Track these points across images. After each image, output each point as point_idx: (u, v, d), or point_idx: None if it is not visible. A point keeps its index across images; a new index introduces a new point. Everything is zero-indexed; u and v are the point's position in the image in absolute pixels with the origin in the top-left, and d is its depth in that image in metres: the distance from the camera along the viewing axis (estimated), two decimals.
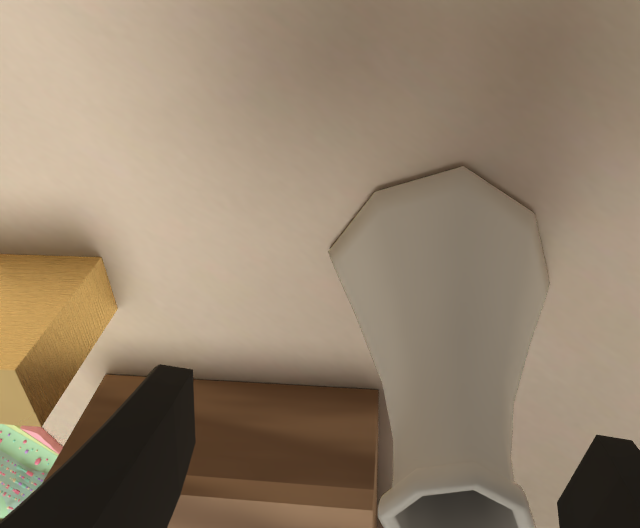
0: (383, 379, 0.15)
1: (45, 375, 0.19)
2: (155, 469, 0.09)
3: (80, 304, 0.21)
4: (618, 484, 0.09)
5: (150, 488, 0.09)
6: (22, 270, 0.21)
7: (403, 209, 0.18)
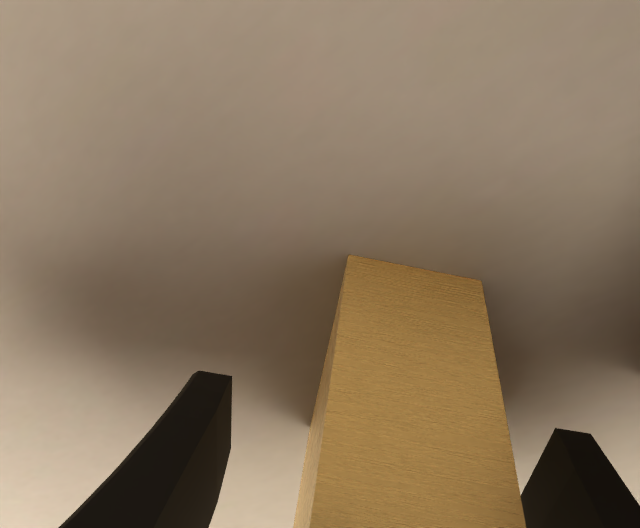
0: None
1: (420, 513, 0.07)
2: (199, 476, 0.09)
3: (375, 337, 0.09)
4: (573, 477, 0.09)
5: (194, 495, 0.09)
6: (320, 392, 0.11)
7: None
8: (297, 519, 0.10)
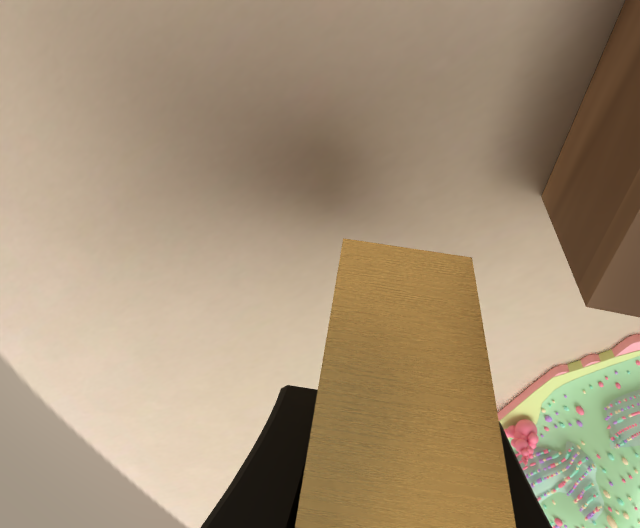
0: None
1: (406, 466, 0.07)
2: None
3: (367, 312, 0.10)
4: None
5: (296, 512, 0.09)
6: None
7: None
8: None
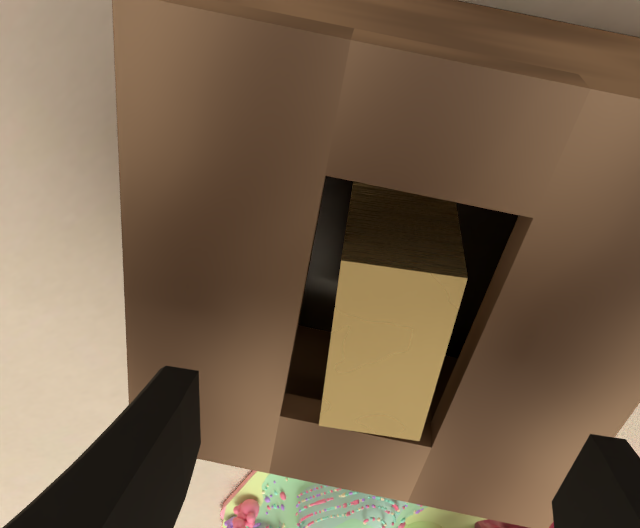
0: None
1: (403, 241, 0.12)
2: (162, 470, 0.09)
3: None
4: (611, 483, 0.09)
5: (157, 488, 0.09)
6: None
7: None
8: None
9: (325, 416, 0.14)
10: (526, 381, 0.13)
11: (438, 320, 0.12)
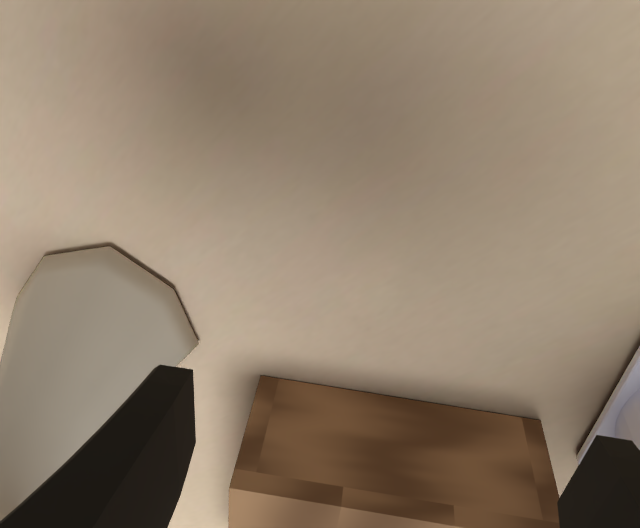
0: None
1: None
2: (155, 469, 0.09)
3: None
4: (618, 484, 0.09)
5: (150, 487, 0.09)
6: None
7: None
8: None
9: None
10: None
11: None
